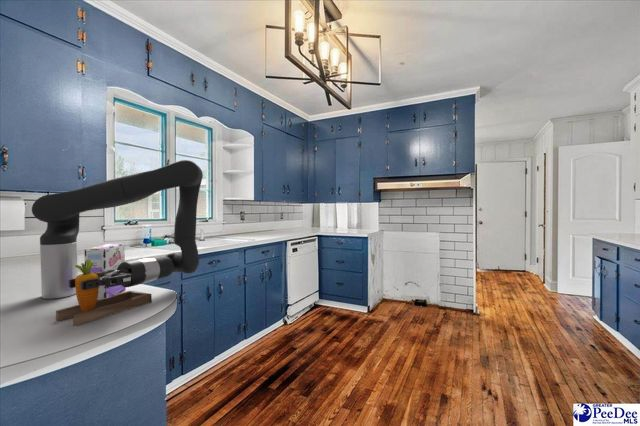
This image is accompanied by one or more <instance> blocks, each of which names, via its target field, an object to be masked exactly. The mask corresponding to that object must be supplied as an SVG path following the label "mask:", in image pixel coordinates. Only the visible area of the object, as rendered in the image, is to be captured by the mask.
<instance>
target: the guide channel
mask: <svg viewBox="0 0 640 426" xmlns="http://www.w3.org/2000/svg"><path fill="white" fill-rule="evenodd" d="M152 297H153V295H152V293H147V292H142V291H136V290H126V291H122V292H120V293H118V294H114V295H113V296H111V297H107V298H103V299H99V300H97V302H96V305H95V307H94V309H93V310H90V311H86V312H83V311H82V310H81V308H80V306H79V304H77V305H72V306H69V307H64V308H61V309H58V310H55V318H56V319H55V321H57V322H60V321H63V320H66V319H70V318H73V326H75V327H77V326H79V325H80V326H81V325H82V324H83V325H84V324H87V323H89V322H92V321H96V320H99V319H103V318H106V317H109V316H112V315H114V314H118V313H121V312H125V311H129V310H131V309H134V308H138V307H141V306H143V305H147V304H150V303H152V301H153V300H152Z"/></svg>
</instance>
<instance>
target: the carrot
mask: <svg viewBox="0 0 640 426" xmlns="http://www.w3.org/2000/svg"><path fill="white" fill-rule="evenodd" d="M86 264H87V267H85V262H82V263H81V264H80V265H79V264H77V265H75V267H77V269H78V270H80V271H81V272H82V273H81V274H78V276H77V277H76V278H75V287H76V294H75V297H76V300H77V303H78V305H79V306H80V308H81V310H82V311H83V312H86V311H90V310H93V309H94V307H95V305H96V302H97V297H98V288H99V286H98V287H96V288H92V289H87V290H81V282H82V281H86V280H91V279H98V278H99V277H98V275H97V274H95V273H90V270H91V267H92V265H93V263H92V262H91V260H90V259H87V260H86Z"/></svg>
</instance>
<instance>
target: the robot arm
mask: <svg viewBox="0 0 640 426" xmlns="http://www.w3.org/2000/svg"><path fill="white" fill-rule="evenodd" d="M203 176H204V175H203V170H202V169H201V167H200V166H199V165H198V164H197V163H195V162H194V161H192V160H191V159H190V160H189V159H181V160H178V161H175V162H172V163H169V164H168V165H165V166H162V167H158V168H155V169H153V170H148V171H141V172H136V173H132V174H126V175H124V176H123V175H122V176H119V177H115V178H111V179H108V180H105V181H102V182H98V183H95V184H92V185H89V186H88V185H87V186H86V187H82V188H79V189H74V190H69V191H63V192H57V193H52V194H51V193H50V194H45V195H42V196H41V197H38V198H37V199H36V200H35V201H34V202H33V204H32V206H31V214H32V215H33V216H34V218H35V219H37V220H38V221H41V222H42V223H43V222H44V223H47V227H46V229H45V231H44V233H42V234H41V235H40V236H39V253H40V254H39V255H40V277H41V278H40V280H41V281H40V282H41V285H40V286H41V298H42V299H45V300H46V299H49V300H51V299H52V300H53V299H60V298H66V297H70V296H75V295H76V287H75V278H76V277H77V276H78V275H79V274H78V270H79V268H77V267H75V265H78V242H77V239H78V235H79V233H80V214H81V213H84V212H88V211H95V210H103V209H110V208H116V207H121V206H125V205H128V204H132V203H136V202H139V201H142V200H143V199H146V198H149V197H151V196H152V195H154V194H155V193H158V192H162V191H164V190H169V189H173V188H179V189H178V190H179V202H178V207H177V212H176V214H175V220H174V229H173V230H174V231H173V233H174V234H173V235H174V236H173V243H174V244H175V245H176V246H178V247H179V248H180V250H181V251H179V252H178V251H176V252H170V253H168V254H165V255H163V256H156V257H155V256H154V257H150V258H149V257H148V258H140V259H134V260H128V261H125V262H122V263H121V264H120V265H119V266H118V268H117V270H115V271H114V269H111V270H107V271H102V270H101V271H98V272H94V273H95V274H97V275H98V277H99V278H98V279H91V280H86V281H82V282H81V290H87V289H92V288H96V287H98V286H99V287H100V288H102V287H106V288H109V287H113V286H119V285H122V286H123V287H126V288H130V287H131V288H132V287H134V286H139V285H143V284H147V283H150V282H152V281H156V280H160V279H164V278H167V277H169V276H171V275H172V274H173V273H181V274H193V273H194V272H195V271H197V269H198V267H199V265H200V255H199V250H198V246H197V242H196V235H197V211H198V210H197V209H198V199H199V193H200V189H201V184H202V180H203Z"/></svg>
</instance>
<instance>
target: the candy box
mask: <svg viewBox="0 0 640 426" xmlns="http://www.w3.org/2000/svg"><path fill="white" fill-rule="evenodd" d="M125 256H126V255H125V243H106V244H103V245H99V246H98V245H97V246H94V247H89V248H84V264H85V267H87V264H86V260H87V259H90V260H91V262H92V263H93V265H92V267H91V270H90V273H94V272H98V271H101V270H102V271H107V270H111V269H114V271H115V270H117V268H118V266H119V265H120V264H121V263H122V262H126V260H125ZM126 288H127V287H123V286H122V285H119V286H113V287H109V288H106V287H102V288H100V287H99V288H98V297H97V300H99V299H103V298H107V297H111V296H113V295H114V294H118V293H122V292H125V290H126Z"/></svg>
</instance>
